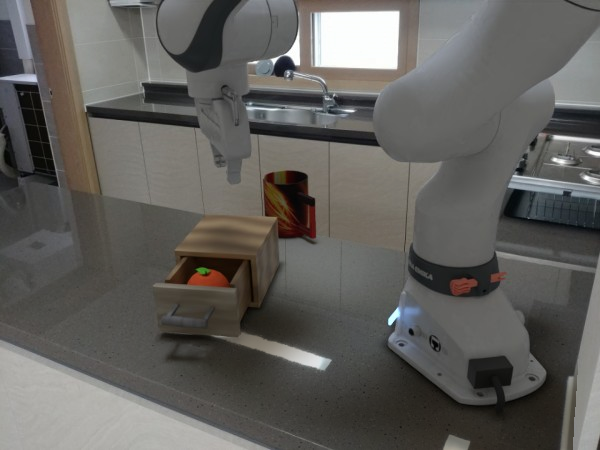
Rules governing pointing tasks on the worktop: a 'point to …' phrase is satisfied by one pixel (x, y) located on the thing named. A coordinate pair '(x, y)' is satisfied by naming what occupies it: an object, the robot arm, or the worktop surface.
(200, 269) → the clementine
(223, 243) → the cabinet
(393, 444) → the worktop surface
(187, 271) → the drawer
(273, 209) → the mug
